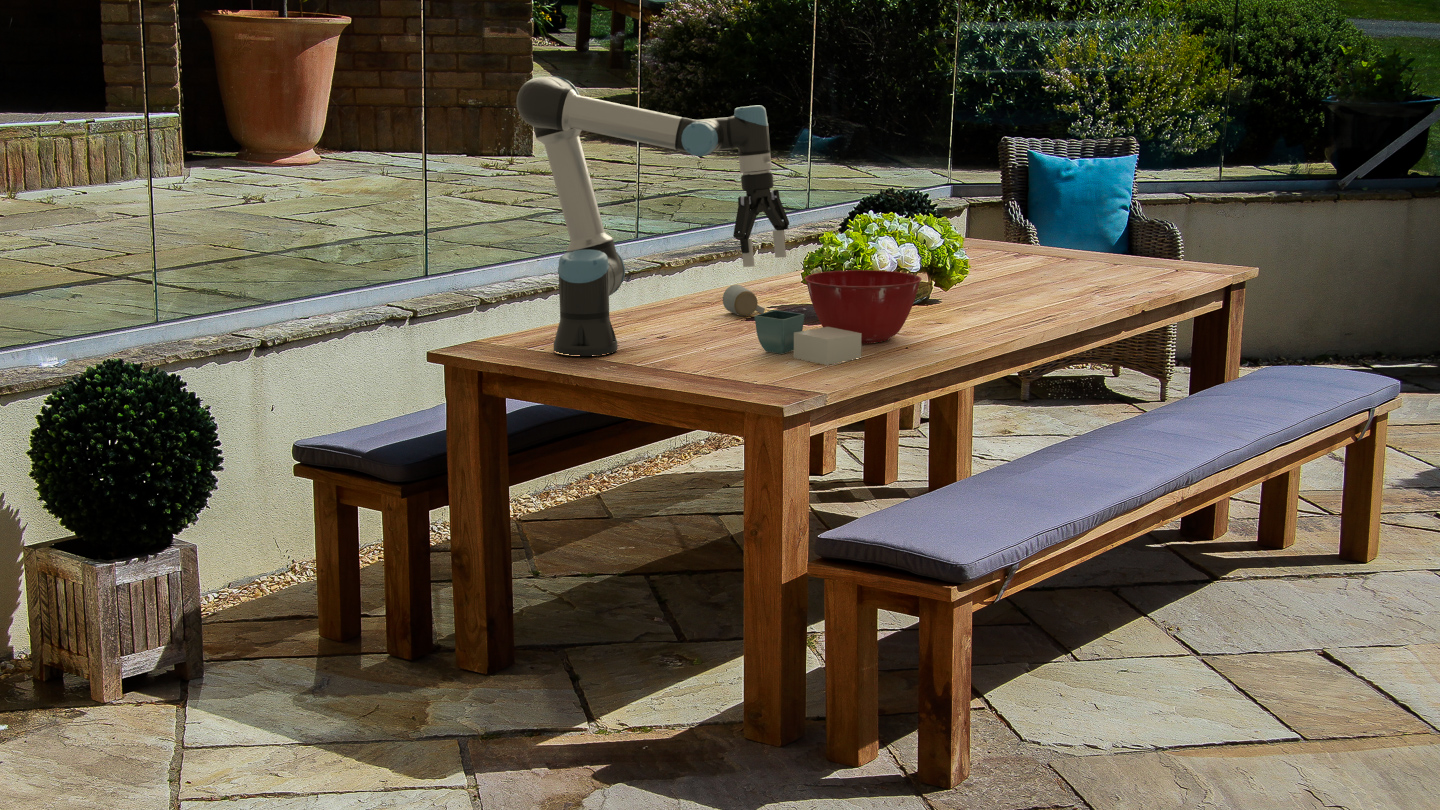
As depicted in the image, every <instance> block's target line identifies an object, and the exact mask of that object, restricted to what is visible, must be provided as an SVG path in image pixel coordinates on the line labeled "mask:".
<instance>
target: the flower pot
mask: <svg viewBox="0 0 1440 810" xmlns="http://www.w3.org/2000/svg"><path fill="white" fill-rule="evenodd" d="M805 315H806V314H805V313H798V312H791V311H784V310H776V309H775V310H774V309H773V310H771V311H770V310H769V311H766V312H764V313H760V314H755V315H754V322H755V331H756V335H757V339H758V342H759V344H760V345H761V348H762V349H763V350H764V351H765V352H766V353H773V354H780V355H784V354H786V353H790V352H794V332H800V331H804V330H803V329H804V321H805Z"/></svg>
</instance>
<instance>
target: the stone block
mask: <svg viewBox="0 0 1440 810" xmlns="http://www.w3.org/2000/svg"><path fill="white" fill-rule="evenodd" d="M861 334H862V333H858V332H853V331H848V330H842V329H837V328H832V327H817V328H813V329H807V330H802V331H800V332H794V350H793V359H796V358H797V359H796V360H800V359H801V360H802V361H805V362H809V361H810V363H814V362H815V364H818V363H820V364H819V365H823V364H825V365H824V366H830V365H829V364H832V365H835V364H834V363H837V364H839V363H838V362H842V361H847V360H852V359H856V358H860V357H861V358H862V343H861ZM852 361H853V360H852ZM847 362H848V361H847ZM842 363H843V362H842Z"/></svg>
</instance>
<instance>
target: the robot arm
mask: <svg viewBox="0 0 1440 810" xmlns="http://www.w3.org/2000/svg"><path fill="white" fill-rule="evenodd" d="M516 109H517V112H518V114H519V116H520V117H521V119H522V120H523V121H524V122H525V123H526V124H528V126H529V125H530V126H531V127H532V128H533V131H534V135H535V138H536V140H537V141H538V142H540V143H542V144H543V145H544V149H545V151H546V155H547V159H548V162H549V165H550V169H551V174H552V177H553V182H554V185H555V188H556V192H557V196H558V200H559V203H560V206H561V210H562V215H563V217H564V221H565V225H566V230H567V233H568V237H569V240H570V242H569V244H568V246H567V248H566V252H565V253H563V254H561V256H560V257H559V260H558V267H557V274H558V287H559V288H558V291H559V292H558V293H559V296H558V297H559V323H558V327H557V329H556V330H557V331H556V333H555V337H554V341H553V352H554V351H556V352H559V353H563V354H569V355H580V356H592V355H602V354H607V353H612V352H615V351H616V350H617V349H618V340H617V337H616V334H615V331H614V328H613V325H612V322H611V319H610V296H611V295H613V294H614V293H616V292H617V291H618V290H619V289H620V287H621V285H622V284H623V282H624V278H625V275H626V266H625V263H624V260H623V258H622V256H621V255H620V253H618V252H617V249H616V245H615V242H614V241H615V240H614V238H613V237H612V236H611V235H609V234H607V232H606V231H605V228H604V225H603V220H602V217H601V213H600V209H599V205H598V202H597V201H598V200H597V198H596V194H595V190H594V187H593V183H592V180H591V179H592V178H591V175H590V172H589V169H588V165H587V160H586V156H585V153H584V148H583V146H582V142H581V141H582V140H581V137H580V136H581V133H582V131H584V132H590V133H593V134H599V135H603V136H608V137H613V138H616V139H617V138H618V139H619V138H620V139H622V140H628V141H633V142H638V143H643V144H648V145H652V146H657V147H662V148H665V149H672V150H675V151H676V150H677V151H680V152H683V153H684V152H685V153H688V154H690V155H691V156H695V157H705V156H708V155H710V154H711V153H714V152H717V151H728V150H735V149H737V150H738V163H739V165H738V166H739V172H740V173H741V176H740V182H741V189H742V191H743V192H744V191H745V192H746V195H744V196H743V195H741V196H738V198H737V204H738V205H737V206H738V207H737V212H736V217H735V223H734V229H733V234H732V235H733V238H734V239H736V240H739V242H740V243H739V244H740V253H741V255H742V257H741V259H742V267H744V268H747V267H748V268H749V267H752V268H754V267H755V258H754V257H755V256H754V249H753V247H754V246H753V238H750V236H751V233H752V231H753V227H754V224H755V222H756V219H757V216H758V215H760V213H764V214H765V216H766V217H767V219H768V220H769V222H770V224H771V225H772V227H773V229H774V230H772V236H773V238H772V239H773V248H774V257H775V258H787V252H786V237H785V230H788V229H789V225H790V221H789V219H788V216H787V212H786V211H785V208H784V206H783V203H782V201H781V198H780V192H779V189H772V188H774V176H773V172H772V171H770V170H772V169H773V167H772V158H771V157H772V156H771V144H770V142H771V141H770V133H769V131H770V130H769V123H768V116H767V110H766V107H764V106H763V105H749V106H740V107H736V108H734V111H733V112H734V114H733V115H731V116H728V117H717V118H715V117H714V118H704V119H701V118H699V119H692V118H688V117H682V116H678V115H673V114H668V113H664V112H659V111H655V110H650V109H646V108H641V107H636V106H631V105H626V104H622V103H621V104H620V103H617V102H611V101H608V100H602V99H598V98H594V97H588V96H583V95H580V92H579V90H578V89H577V87H576V86H575V85H574V84H573V83H572V82H571V81H570V80H568V79H566V78H563V77H562V76H558V75H550V76H540V77H533V78H531V79H529V80H528V81H526V82H525V83H523V85H522V86H521V87H520V88H519V91H518V93H517V96H516ZM617 351H618V350H617ZM615 353H616V352H615Z"/></svg>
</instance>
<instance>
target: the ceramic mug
mask: <svg viewBox="0 0 1440 810" xmlns="http://www.w3.org/2000/svg"><path fill="white" fill-rule="evenodd" d="M758 301H759V300H758V298H757V295H755V293H753V291H751V290H750V289H748V288H746V287H744V286H743V285H740V284H733V285H730V286H729V287H727V288H726V289H725V291H724V292H723V294H722V304H723V307H724V308H725V309H726V311H727V312H730V313H732V314H735V315H737V316H739V317H749V316H751V315H753V314H754V313H755V312H758V313H760V314H762V313H765V310H766V308H765V307H763V306H760V305H758Z"/></svg>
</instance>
